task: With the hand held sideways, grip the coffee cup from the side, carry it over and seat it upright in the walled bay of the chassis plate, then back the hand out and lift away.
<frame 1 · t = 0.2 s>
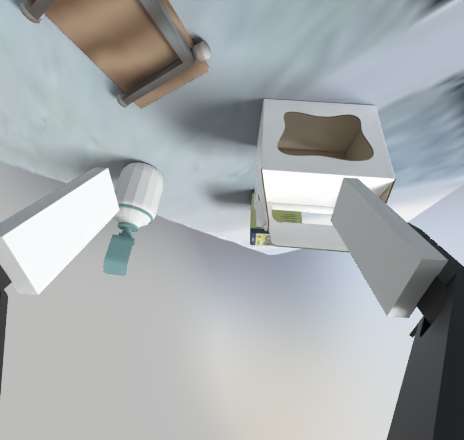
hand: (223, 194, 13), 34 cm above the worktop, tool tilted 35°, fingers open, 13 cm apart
protein box: (274, 197, 78), on the worktop
gable box: (309, 127, 51), on the worktop
soap bottle: (145, 171, 70), on the worktop
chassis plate: (124, 26, 36), on the worktop
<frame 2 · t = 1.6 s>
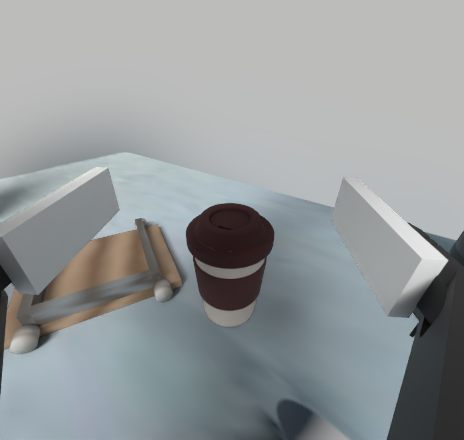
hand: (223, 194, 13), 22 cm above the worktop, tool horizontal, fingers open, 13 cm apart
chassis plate: (102, 273, 38), on the worktop
coffee cup: (229, 306, 33), on the worktop
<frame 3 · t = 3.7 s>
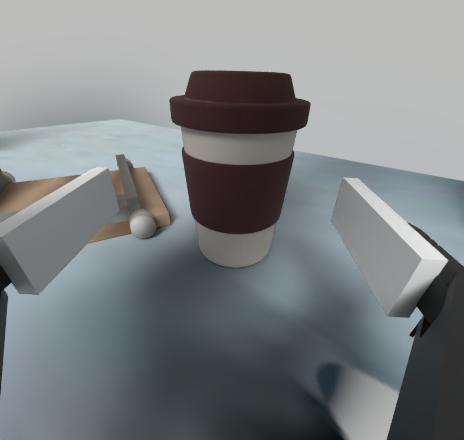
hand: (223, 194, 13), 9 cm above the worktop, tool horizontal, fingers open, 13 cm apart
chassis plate: (66, 210, 29), on the worktop
coffee cup: (234, 246, 24), on the worktop
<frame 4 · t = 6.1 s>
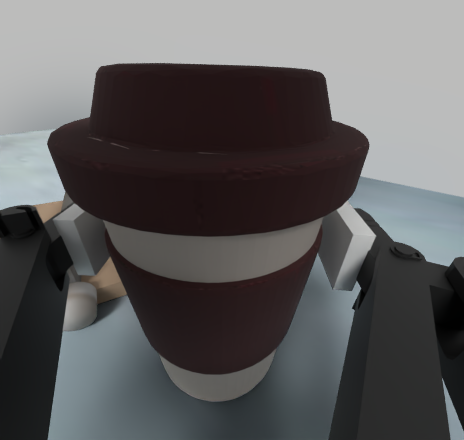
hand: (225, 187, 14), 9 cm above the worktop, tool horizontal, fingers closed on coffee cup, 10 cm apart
coffee cup: (218, 341, 15), on the worktop, touching gripper
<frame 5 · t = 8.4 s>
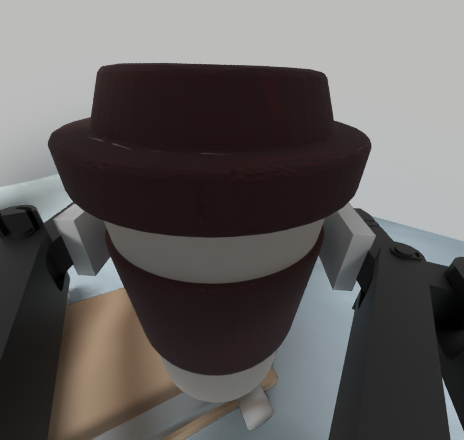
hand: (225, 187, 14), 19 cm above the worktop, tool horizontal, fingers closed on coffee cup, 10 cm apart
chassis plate: (140, 352, 24), on the worktop
coffee cup: (219, 341, 15), point 10 cm above the worktop, touching gripper
when the fingers open (12 cm above the worktop, at t = 10.7 s): coffee cup drops 1 cm, resting on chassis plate.
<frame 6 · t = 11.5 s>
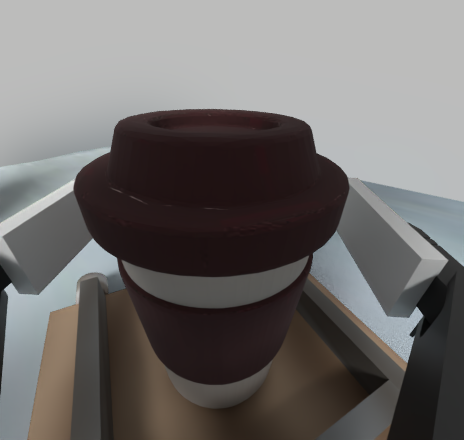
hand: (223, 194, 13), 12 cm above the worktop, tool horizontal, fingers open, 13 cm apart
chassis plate: (219, 358, 17), on the worktop
coffee cup: (219, 350, 16), point 1 cm above the worktop, touching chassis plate
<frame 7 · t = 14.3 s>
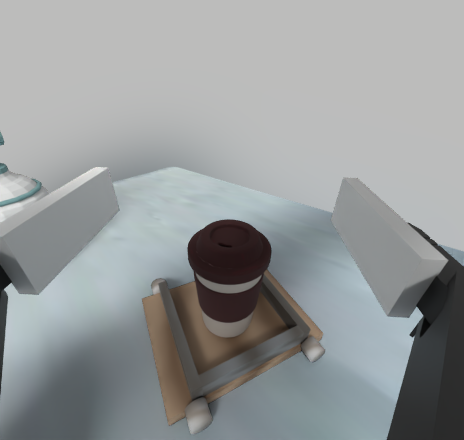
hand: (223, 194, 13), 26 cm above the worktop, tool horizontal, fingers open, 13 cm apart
soap bottle: (36, 264, 44), on the worktop
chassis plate: (227, 321, 35), on the worktop
coffee cup: (227, 316, 34), point 1 cm above the worktop, touching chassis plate
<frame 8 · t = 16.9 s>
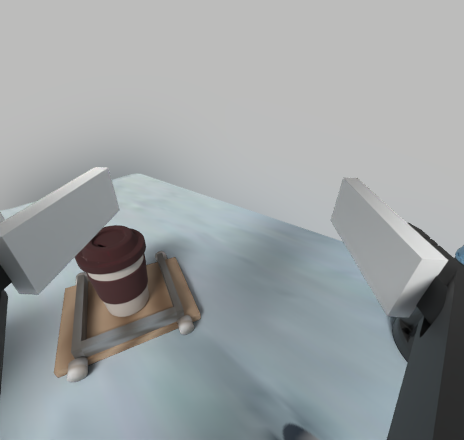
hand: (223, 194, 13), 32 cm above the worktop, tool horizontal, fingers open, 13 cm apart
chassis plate: (131, 305, 44), on the worktop
coffee cup: (129, 301, 43), point 1 cm above the worktop, touching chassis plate
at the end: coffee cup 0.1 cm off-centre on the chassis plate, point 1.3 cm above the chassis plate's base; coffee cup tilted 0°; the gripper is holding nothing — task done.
